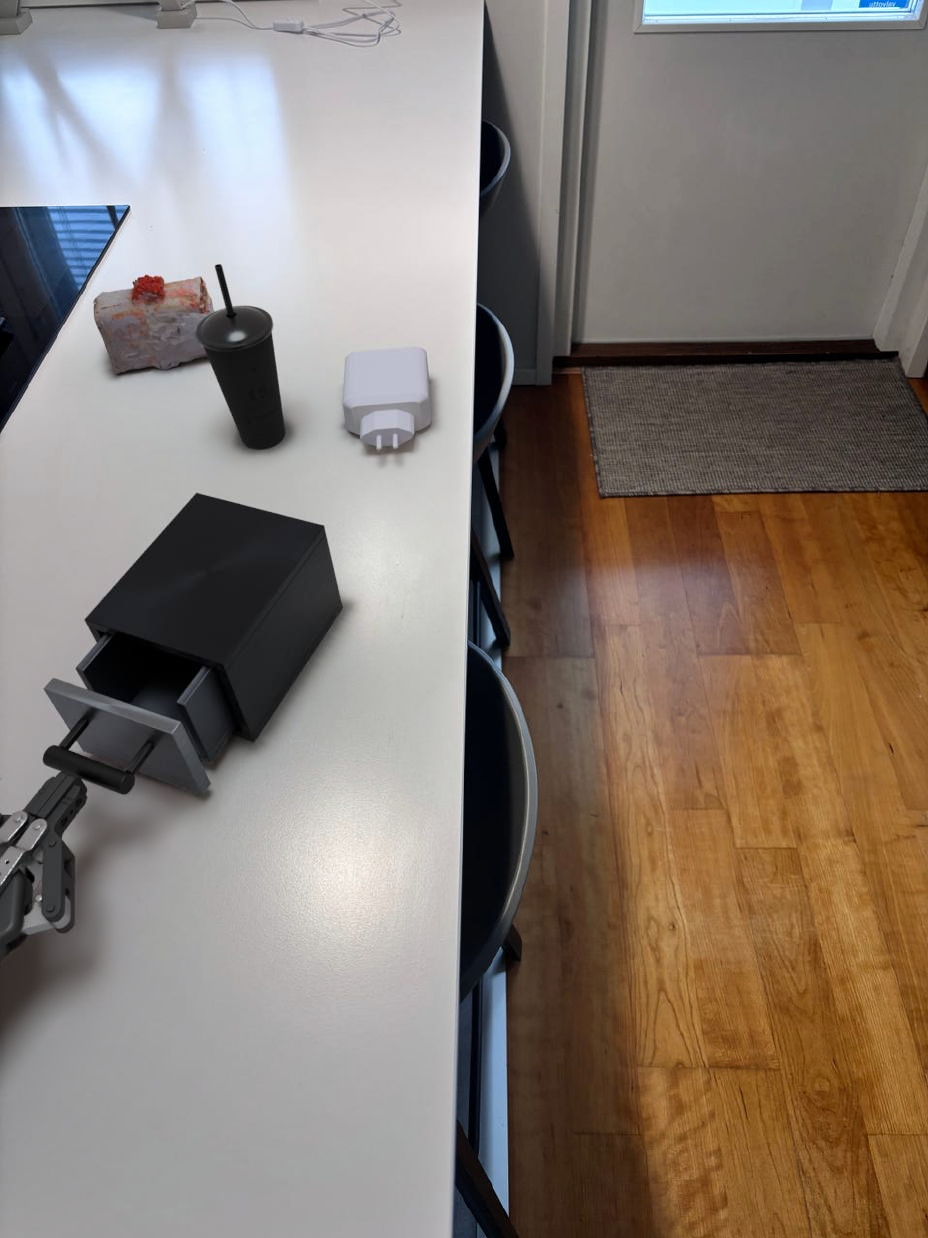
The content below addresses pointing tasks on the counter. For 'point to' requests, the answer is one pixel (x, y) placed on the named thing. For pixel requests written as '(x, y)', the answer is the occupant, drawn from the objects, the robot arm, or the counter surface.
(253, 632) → the cabinet
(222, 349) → the drinking cup
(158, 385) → the counter surface
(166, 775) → the drawer
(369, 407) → the charger
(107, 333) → the food item
